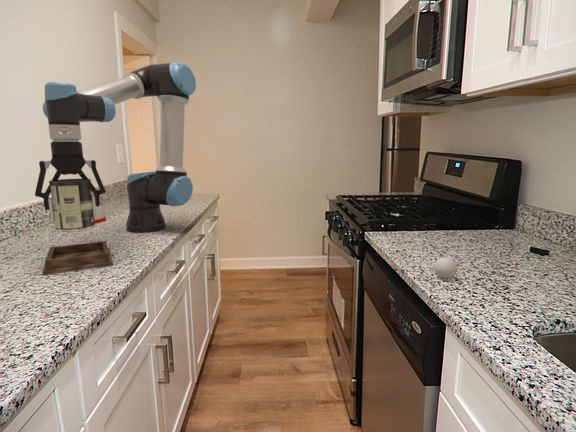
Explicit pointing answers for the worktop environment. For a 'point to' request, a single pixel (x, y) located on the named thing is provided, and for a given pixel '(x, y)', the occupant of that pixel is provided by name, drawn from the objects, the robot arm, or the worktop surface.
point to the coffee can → (72, 205)
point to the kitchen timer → (100, 214)
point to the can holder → (77, 257)
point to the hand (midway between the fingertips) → (74, 219)
